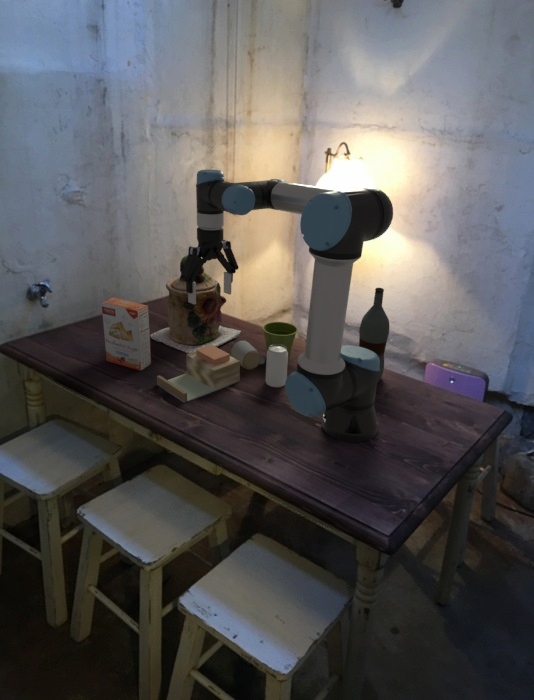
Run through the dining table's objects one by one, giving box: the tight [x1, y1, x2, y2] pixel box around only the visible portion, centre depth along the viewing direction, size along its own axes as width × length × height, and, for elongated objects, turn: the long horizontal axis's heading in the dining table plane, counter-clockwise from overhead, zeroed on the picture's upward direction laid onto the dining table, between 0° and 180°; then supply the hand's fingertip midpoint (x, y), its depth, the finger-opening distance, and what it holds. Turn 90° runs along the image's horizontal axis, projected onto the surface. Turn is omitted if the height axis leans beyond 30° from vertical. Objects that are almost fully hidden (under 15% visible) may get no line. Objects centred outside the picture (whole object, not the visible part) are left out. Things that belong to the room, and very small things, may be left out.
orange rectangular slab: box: [196, 345, 231, 366], centre depth 176 cm, size 9×6×2 cm, turn 44°
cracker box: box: [101, 297, 152, 372], centre depth 182 cm, size 14×6×21 cm, turn 64°
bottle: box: [358, 287, 390, 383], centre depth 178 cm, size 9×9×30 cm
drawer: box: [156, 372, 215, 404], centre depth 172 cm, size 14×11×3 cm
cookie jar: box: [150, 252, 242, 354], centre depth 200 cm, size 25×25×32 cm
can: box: [265, 345, 289, 389], centre depth 175 cm, size 6×6×12 cm
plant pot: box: [262, 321, 299, 361], centre depth 192 cm, size 12×12×11 cm
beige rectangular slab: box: [185, 351, 241, 392], centre depth 178 cm, size 14×10×7 cm
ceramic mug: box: [230, 340, 266, 370], centre depth 187 cm, size 11×8×8 cm
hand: (210, 298), depth 170 cm, fingers open, 13 cm apart
